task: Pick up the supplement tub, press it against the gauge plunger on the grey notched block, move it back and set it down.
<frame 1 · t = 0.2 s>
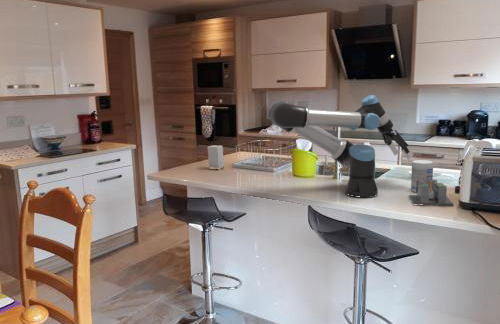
hand: (403, 155, 209), 15 cm above the countertop, tool tilted 35°, fingers open, 13 cm apart
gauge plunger: (428, 187, 182), point 6 cm above the countertop, slide at 0.0 cm
skincare box: (216, 169, 266), on the countertop
supplement tub: (421, 191, 197), on the countertop
grey notched block: (429, 201, 179), on the countertop
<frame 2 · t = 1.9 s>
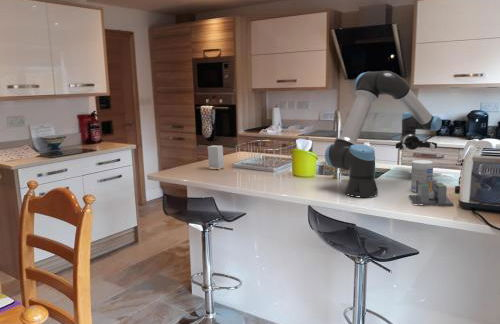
hand: (419, 148, 202), 20 cm above the countertop, tool horizontal, fingers open, 13 cm apart
nothing on the countertop moved.
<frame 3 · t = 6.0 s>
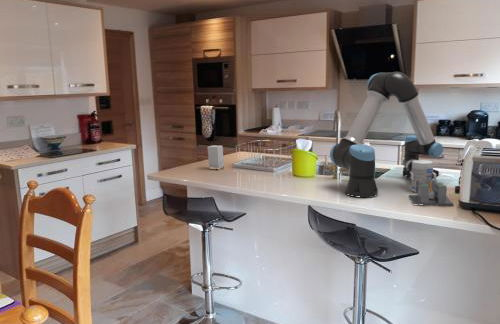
hand: (424, 177, 191), 8 cm above the countertop, tool horizontal, fingers closed on supplement tub, 9 cm apart
supplement tub: (421, 191, 197), on the countertop, touching gripper
everything else where it was.
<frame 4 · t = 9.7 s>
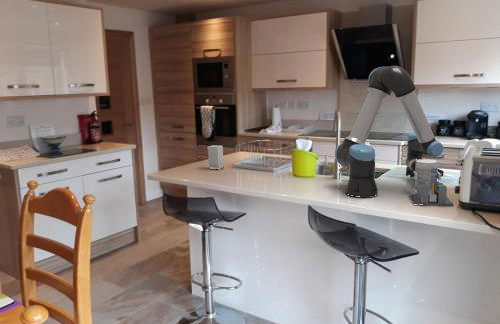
hand: (428, 177, 182), 10 cm above the countertop, tool horizontal, fingers closed on supplement tub, 9 cm apart
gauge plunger: (430, 189, 178), point 6 cm above the countertop, slide at 4.0 cm, touching supplement tub
supplement tub: (425, 192, 188), point 2 cm above the countertop, touching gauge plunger, gripper
everything else where it was.
when the fingers open (9 cm above the countertop, at t = 11.7 s): supplement tub stays where it is, on the countertop.
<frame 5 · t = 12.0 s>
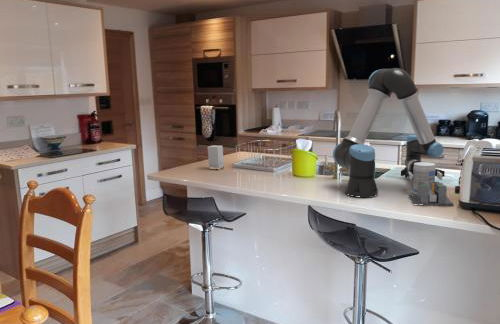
hand: (426, 177, 186), 9 cm above the countertop, tool horizontal, fingers open, 12 cm apart
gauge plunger: (430, 189, 178), point 6 cm above the countertop, slide at 4.0 cm
supplement tub: (423, 194, 192), on the countertop
everything else where it was.
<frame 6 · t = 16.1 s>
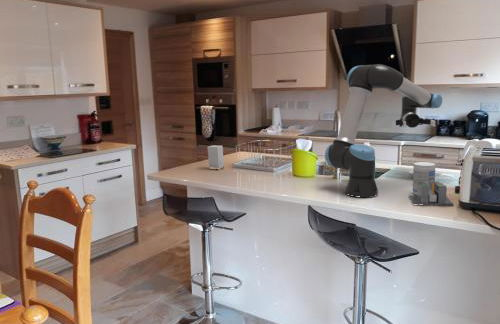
hand: (419, 124, 198), 32 cm above the countertop, tool horizontal, fingers open, 13 cm apart
nothing on the countertop moved.
at the end: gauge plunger slide at 4.0 cm; the gripper is holding nothing; supplement tub tilted 0° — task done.
